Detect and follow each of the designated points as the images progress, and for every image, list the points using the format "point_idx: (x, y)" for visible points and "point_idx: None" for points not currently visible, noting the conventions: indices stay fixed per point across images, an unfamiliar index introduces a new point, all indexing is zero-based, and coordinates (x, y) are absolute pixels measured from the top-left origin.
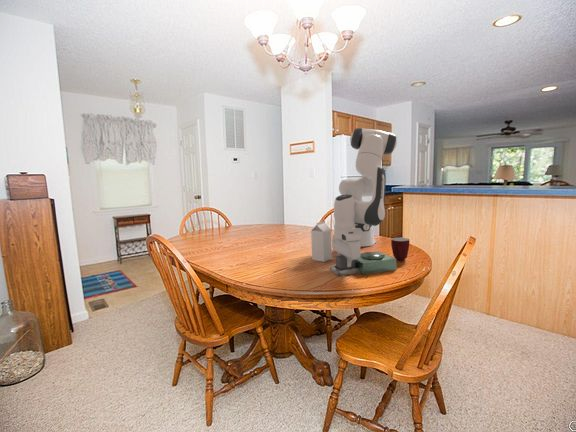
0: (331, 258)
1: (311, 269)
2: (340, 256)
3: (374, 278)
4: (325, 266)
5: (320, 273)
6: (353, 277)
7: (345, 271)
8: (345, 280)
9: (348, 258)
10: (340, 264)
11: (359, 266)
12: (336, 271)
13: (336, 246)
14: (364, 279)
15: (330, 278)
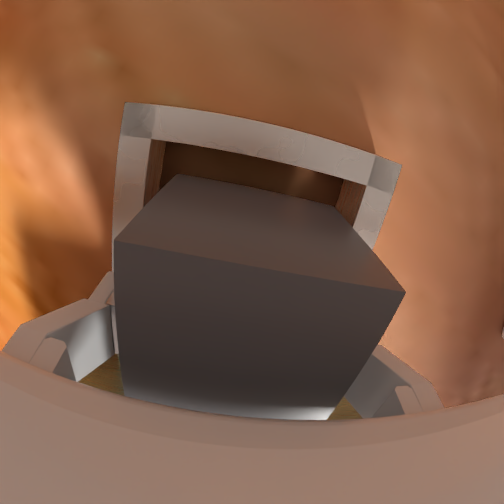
0: (502, 334)
1: (478, 45)
2: (310, 363)
3: (11, 318)
4: (468, 199)
5: (342, 3)
6: (49, 217)
7: (118, 207)
8: (21, 113)
9: (9, 344)
10: (154, 202)
11: (112, 369)
12: (172, 106)
13: (502, 478)
14: (2, 259)
15: (132, 2)
